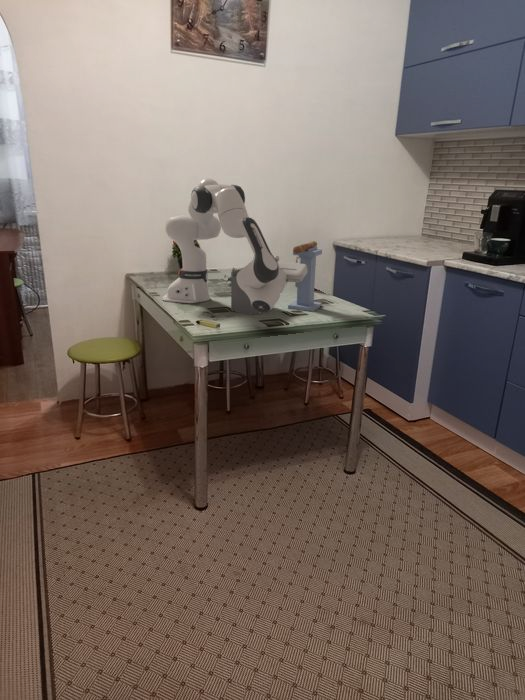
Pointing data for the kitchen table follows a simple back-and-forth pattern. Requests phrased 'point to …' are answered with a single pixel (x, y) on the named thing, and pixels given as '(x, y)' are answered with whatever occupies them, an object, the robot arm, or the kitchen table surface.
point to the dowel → (304, 247)
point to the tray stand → (240, 297)
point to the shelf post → (307, 282)
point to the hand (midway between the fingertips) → (288, 258)
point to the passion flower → (230, 277)
